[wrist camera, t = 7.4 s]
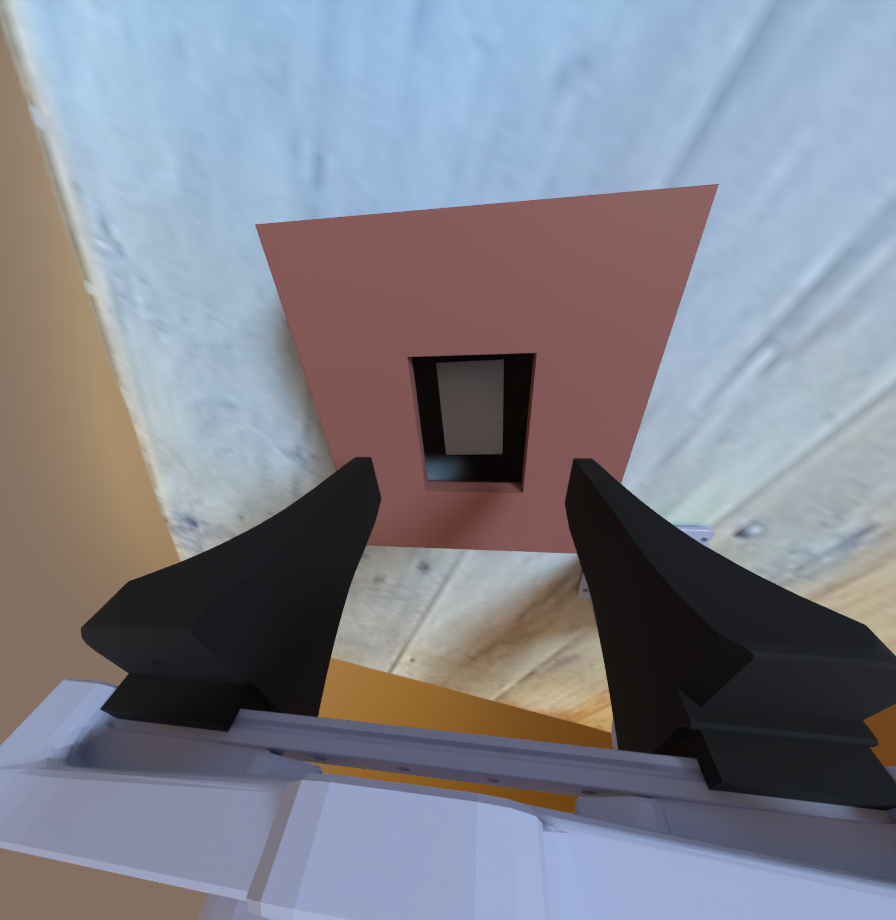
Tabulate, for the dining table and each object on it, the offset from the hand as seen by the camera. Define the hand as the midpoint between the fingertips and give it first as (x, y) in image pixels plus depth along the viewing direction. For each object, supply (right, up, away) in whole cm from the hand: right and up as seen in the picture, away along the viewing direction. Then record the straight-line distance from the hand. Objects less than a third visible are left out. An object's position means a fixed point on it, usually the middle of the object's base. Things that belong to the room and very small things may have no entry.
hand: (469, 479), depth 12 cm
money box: (+1, +5, +7) cm, 9 cm away
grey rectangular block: (+1, +5, +7) cm, 9 cm away
